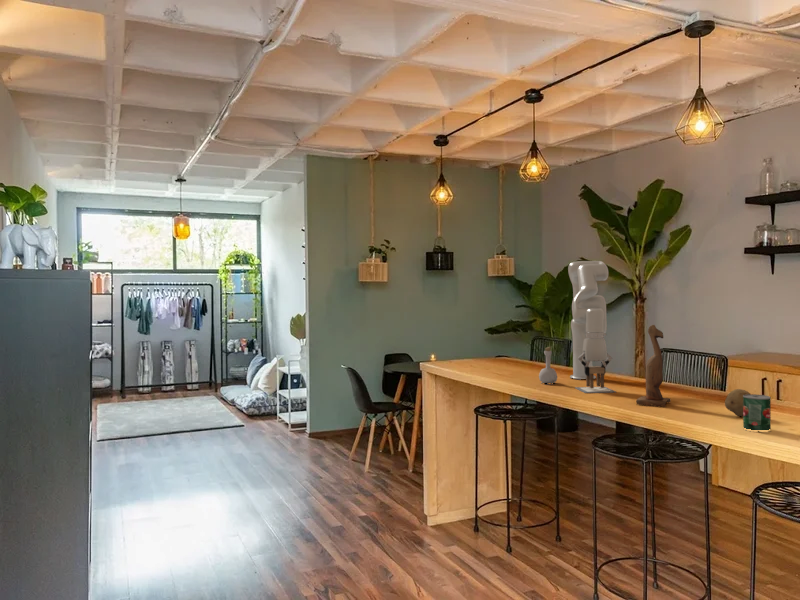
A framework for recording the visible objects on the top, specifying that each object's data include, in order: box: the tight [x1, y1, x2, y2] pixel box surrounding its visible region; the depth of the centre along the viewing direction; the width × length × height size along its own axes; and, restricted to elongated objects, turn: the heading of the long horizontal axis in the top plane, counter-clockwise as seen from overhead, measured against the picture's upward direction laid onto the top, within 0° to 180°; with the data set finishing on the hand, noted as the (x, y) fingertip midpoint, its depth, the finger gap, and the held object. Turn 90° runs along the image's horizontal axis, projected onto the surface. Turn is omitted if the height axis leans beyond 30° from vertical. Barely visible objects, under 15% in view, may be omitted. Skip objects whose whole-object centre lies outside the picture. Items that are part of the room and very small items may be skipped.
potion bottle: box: [538, 346, 558, 385], centre depth 310 cm, size 9×9×18 cm
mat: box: [574, 386, 617, 394], centre depth 288 cm, size 14×14×1 cm
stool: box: [585, 365, 606, 388], centre depth 288 cm, size 6×6×9 cm
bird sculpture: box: [635, 324, 672, 408], centre depth 254 cm, size 11×12×32 cm
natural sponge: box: [724, 388, 751, 417], centre depth 228 cm, size 9×9×10 cm
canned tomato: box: [742, 393, 772, 430], centre depth 208 cm, size 8×8×11 cm
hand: (595, 375), depth 288 cm, fingers closed on stool, 6 cm apart
